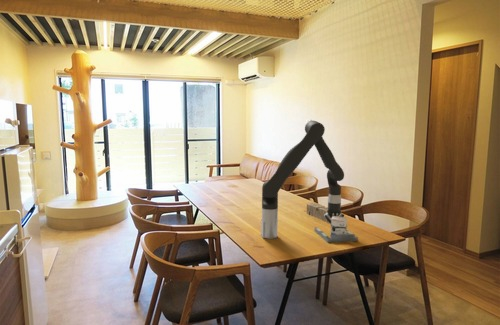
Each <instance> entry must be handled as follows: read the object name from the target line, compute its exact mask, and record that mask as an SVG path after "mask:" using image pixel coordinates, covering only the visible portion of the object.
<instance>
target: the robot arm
mask: <svg viewBox="0 0 500 325" xmlns="http://www.w3.org/2000/svg"><path fill="white" fill-rule="evenodd" d="M325 129H326V128H325V126H324V124H323V123H321V122H319V121H316V120H308V122H306V124H305V125H304V131H305V133H306V134H305V135H304V136H303V138H302V139H301V140H300V141H299V142H298V143H297V144H296V145H294V146H293V147H291V148H290V149H289V151H287V153H286V154H285V156H284V157H283V158H282V159H281V162H280V163H279V165H278V167H277V169H276V171H275V173H274V174H273V175H272V176H271V177H270V179H267V180H266V181H264V182H263V184H262V186H261V192H262V193H261V219H260V220H261V222H260V236H261V238H262V239H269V240H270V239H271V240H273V239H276V238H278V227H279V226H278V221H279V220H278V219H279V218H278V217H279V216H278V215H279V214H278V213H279V211H278V209H279V208H278V207H279V201H278V200H279V199H278V198H279V191H280V190H281V188H282V187H283V185H284V184H285V182H286V181H287V179H288V178H289V177H290V176H291V175H292V174H293V173H294V172H295V170H296V169H297V168H298V167H299V165H300V164H301V162H302V161H303V160H304V159H305V157H306V156H307V154H309V152H310V150H311V149H312V148H313V146H314V147H315V149H316V151H317V153H318V155H319V156H320V159H321V161H322V163H323V165H324V167H325V168H326V169H328V170H327V173H326V178H327V184H328V197H327V207H328V211H327V213H326V214H324V217H325V218H326V220H327V221H328V222H329V223H328V224H331V221H330V219H331V218H332V216H338V217H345V214H344V213H342V210H341V207H342V205H341V204H342V193H341V192H342V186H341V185H340V184H339V183H338V182H341V181H343V180H344V178H345V172H344V169H342V167H341V166H340V164H339V163H338V162H337V160H336V159H335V156H334V154H333V152H332V150H331V149H330V147H329V146H328V144H327V143H326V141H325V139H324V138H323V136H324V135H325ZM328 215H329V216H330V219H329V218H328Z"/></svg>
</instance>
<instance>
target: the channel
mask: <svg viewBox="0 0 500 325" xmlns="http://www.w3.org/2000/svg"><path fill="white" fill-rule="evenodd" d="M313 230H314V232H315V233H317V235H319V237H321V238H322V239H323V240H324V241H325V242H326V243H346V242H358V240H359V239H358V238H359V237H358V236H357V235H355V233H353V232H351V231H349V230H348V229H347V230H346V234H341V235H331V234H330V237H329V236H328V235H327V234H326V233H325V232H324V231H323V230H322V229H320V228H319V227H317V226H316V227H314V229H313Z"/></svg>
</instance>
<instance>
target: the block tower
mask: <svg viewBox="0 0 500 325" xmlns="http://www.w3.org/2000/svg"><path fill="white" fill-rule="evenodd" d="M327 211H328V206H327V207H325V205H322V204H319V203H316V202H315V201H313V202H308V203H306V214H307V215H310V216H311V217H313V216H314V218H315V219H316V218H317V219H318V220H321V221H323V222H326V223H327V224H330V223H329V222H328V221H327V220H326V218H325V217H324V214H326V213H327ZM328 218H329V219H330V216H329V215H328ZM330 221H331V219H330Z"/></svg>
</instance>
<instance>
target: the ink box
mask: <svg viewBox="0 0 500 325" xmlns="http://www.w3.org/2000/svg"><path fill="white" fill-rule="evenodd" d="M347 228H348V218H347V217H345V216H344V217H339V216H332V218H331V223H330V236H331V235H341V234H346V230H348V229H347Z"/></svg>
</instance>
